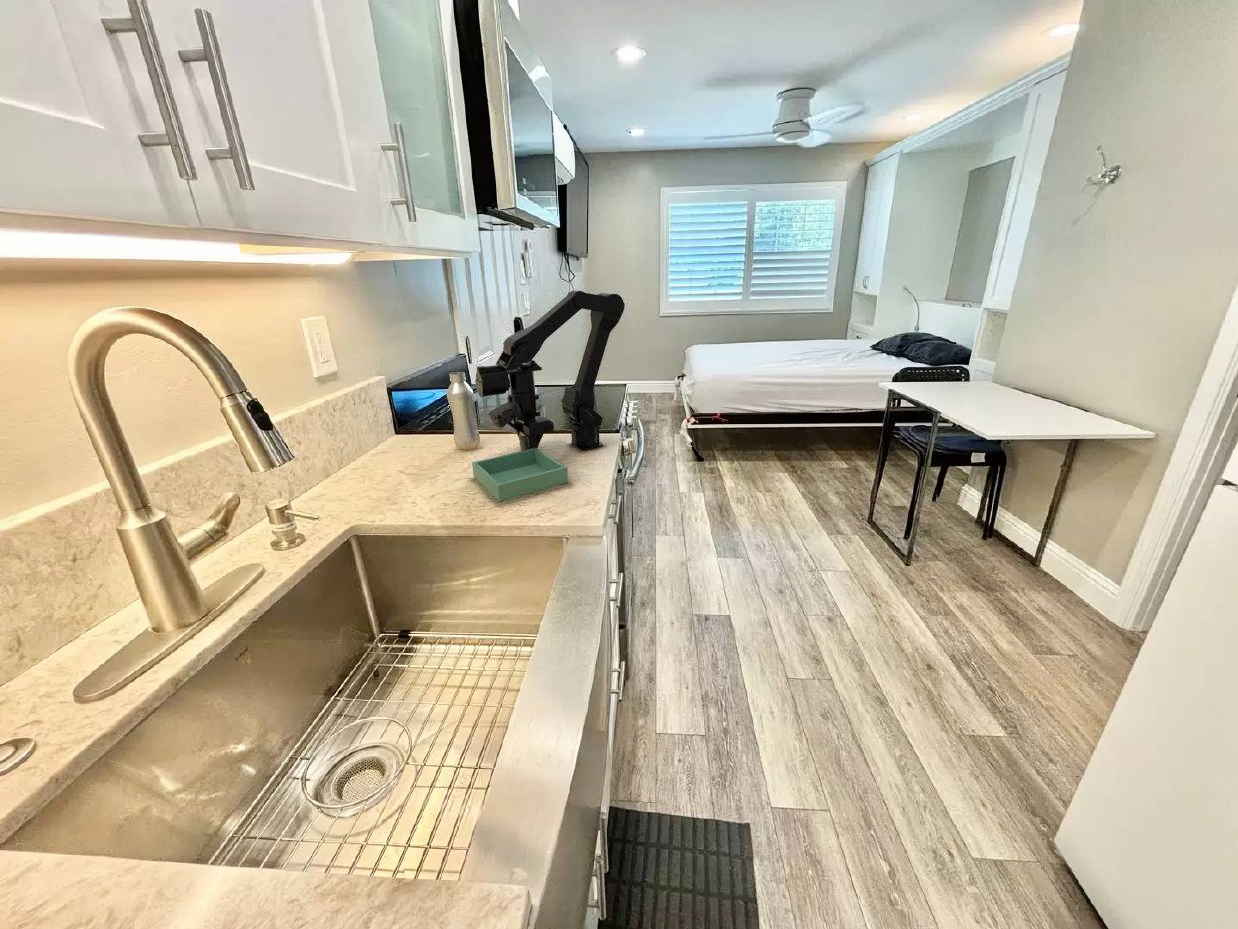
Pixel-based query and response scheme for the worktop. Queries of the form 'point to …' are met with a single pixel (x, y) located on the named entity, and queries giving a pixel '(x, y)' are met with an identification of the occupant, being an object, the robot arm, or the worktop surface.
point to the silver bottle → (462, 412)
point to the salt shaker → (523, 442)
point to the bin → (519, 473)
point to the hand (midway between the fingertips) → (529, 452)
